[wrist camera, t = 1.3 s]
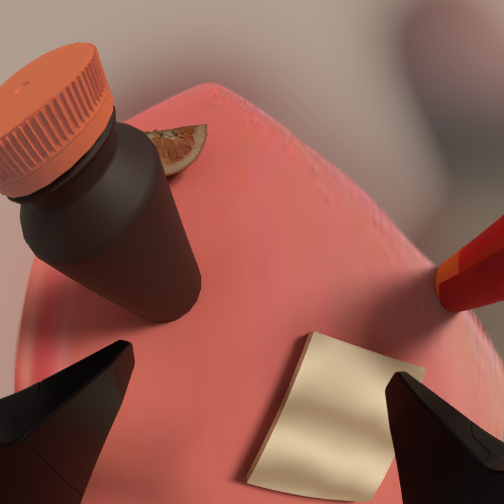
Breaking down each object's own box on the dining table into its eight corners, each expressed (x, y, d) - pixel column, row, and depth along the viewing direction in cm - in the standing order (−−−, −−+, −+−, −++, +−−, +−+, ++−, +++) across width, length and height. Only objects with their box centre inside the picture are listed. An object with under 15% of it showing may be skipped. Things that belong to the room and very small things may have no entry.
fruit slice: (209, 137, 29) (206, 104, 25) (211, 183, 27) (208, 150, 22) (139, 146, 29) (128, 115, 24) (132, 192, 26) (117, 162, 22)
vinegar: (215, 267, 24) (180, 25, 5) (179, 337, 21) (-25, 231, 3) (152, 236, 24) (53, 35, 6) (115, 299, 22) (-66, 160, 3)
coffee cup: (476, 320, 23) (575, 281, 9) (430, 324, 23) (549, 281, 9) (467, 254, 26) (551, 195, 12) (422, 248, 26) (516, 171, 12)
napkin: (363, 496, 16) (370, 501, 15) (246, 476, 17) (246, 483, 16) (417, 368, 21) (426, 368, 20) (309, 332, 22) (314, 330, 21)
